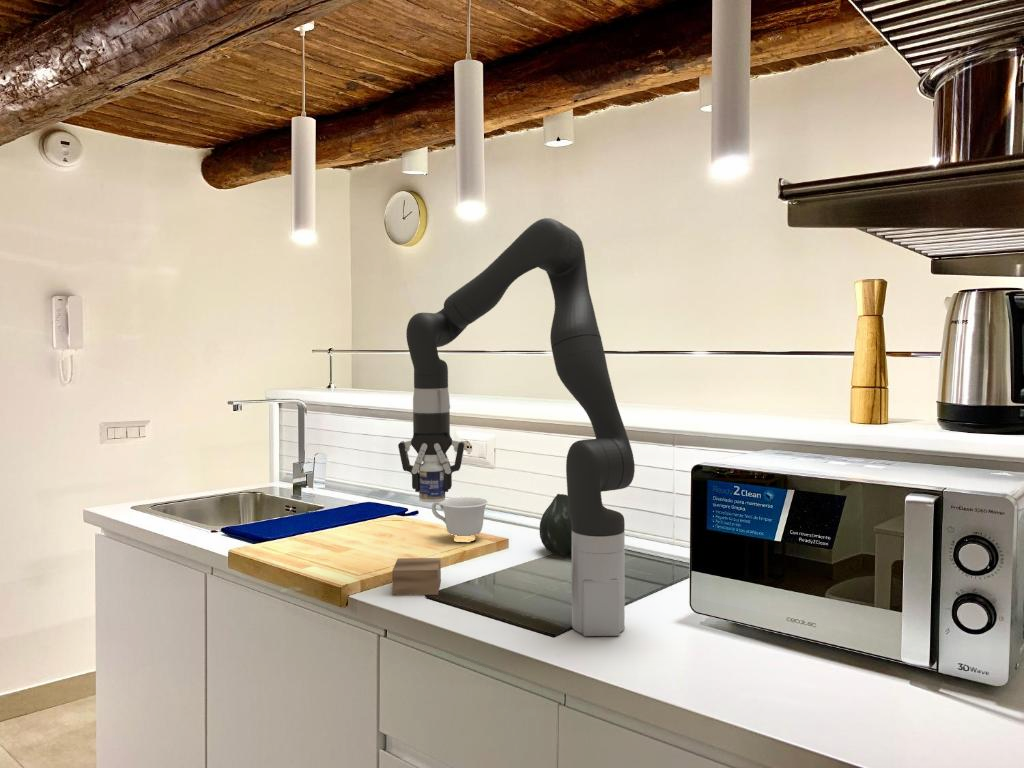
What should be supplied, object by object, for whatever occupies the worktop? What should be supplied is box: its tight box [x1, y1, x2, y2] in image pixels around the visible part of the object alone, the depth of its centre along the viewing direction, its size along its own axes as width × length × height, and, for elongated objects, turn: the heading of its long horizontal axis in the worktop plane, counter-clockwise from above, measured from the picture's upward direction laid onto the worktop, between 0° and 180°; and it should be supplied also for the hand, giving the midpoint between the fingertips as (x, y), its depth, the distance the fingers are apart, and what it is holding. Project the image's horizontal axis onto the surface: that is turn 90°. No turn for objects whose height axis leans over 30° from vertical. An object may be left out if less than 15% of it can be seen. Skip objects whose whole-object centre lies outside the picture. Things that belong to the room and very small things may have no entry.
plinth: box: [391, 557, 442, 596], centre depth 161 cm, size 9×9×5 cm
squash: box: [539, 493, 572, 558], centre depth 188 cm, size 14×15×15 cm
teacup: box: [431, 496, 489, 536], centre depth 200 cm, size 12×15×10 cm
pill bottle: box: [418, 455, 446, 504], centre depth 162 cm, size 5×5×10 cm
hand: (432, 491), depth 162 cm, fingers closed on pill bottle, 5 cm apart
